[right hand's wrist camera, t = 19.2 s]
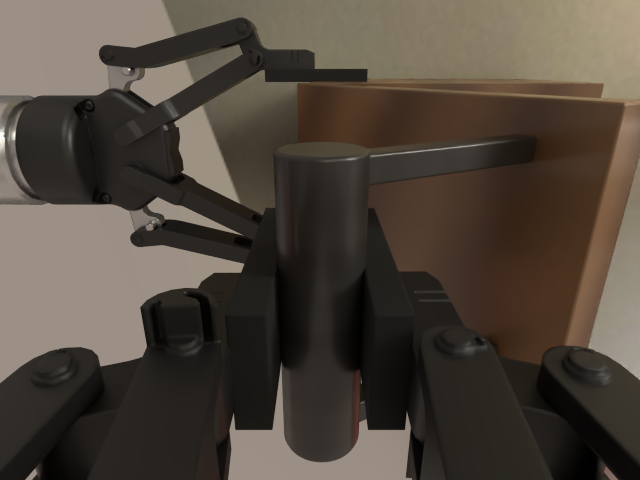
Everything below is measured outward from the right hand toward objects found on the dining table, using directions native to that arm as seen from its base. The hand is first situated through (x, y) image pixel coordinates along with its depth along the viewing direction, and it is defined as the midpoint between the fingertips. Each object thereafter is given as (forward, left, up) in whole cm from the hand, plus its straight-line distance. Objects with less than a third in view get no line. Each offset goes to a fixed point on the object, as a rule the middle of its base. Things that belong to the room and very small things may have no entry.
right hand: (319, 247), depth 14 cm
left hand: (-1, +3, -18) cm, 18 cm away
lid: (-1, +4, -5) cm, 6 cm away
